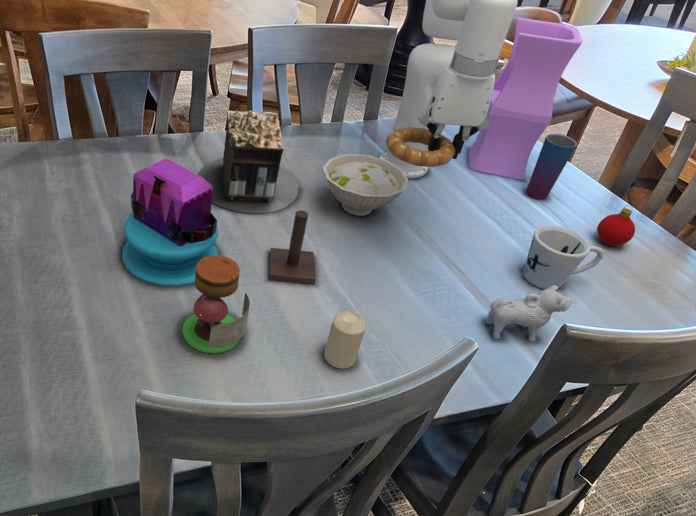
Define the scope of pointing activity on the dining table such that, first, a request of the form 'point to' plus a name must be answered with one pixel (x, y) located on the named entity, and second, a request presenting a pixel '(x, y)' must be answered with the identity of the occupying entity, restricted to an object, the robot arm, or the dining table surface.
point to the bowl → (364, 182)
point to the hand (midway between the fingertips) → (442, 154)
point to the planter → (251, 166)
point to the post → (293, 257)
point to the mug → (557, 256)
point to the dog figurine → (527, 310)
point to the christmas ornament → (616, 228)
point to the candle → (344, 339)
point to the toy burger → (215, 307)
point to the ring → (417, 156)
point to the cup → (550, 165)
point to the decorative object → (169, 225)
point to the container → (524, 97)
